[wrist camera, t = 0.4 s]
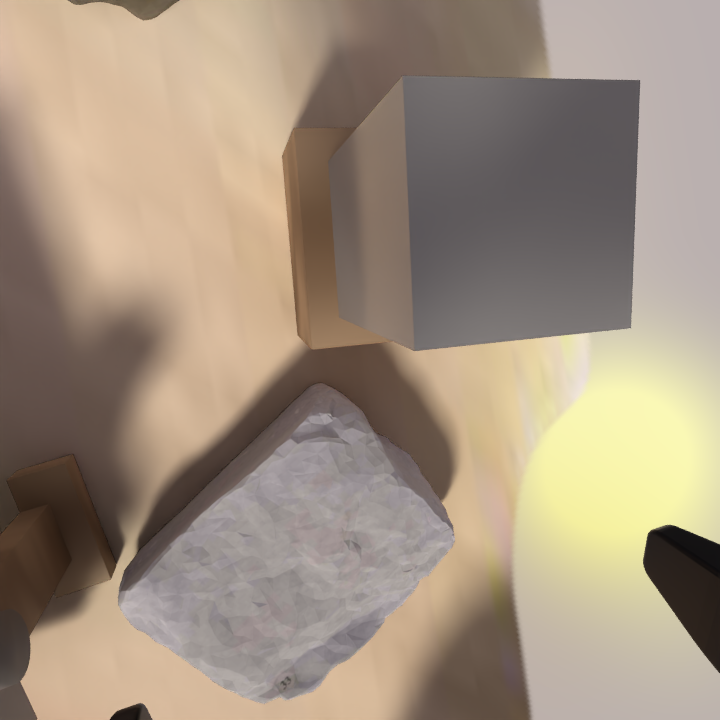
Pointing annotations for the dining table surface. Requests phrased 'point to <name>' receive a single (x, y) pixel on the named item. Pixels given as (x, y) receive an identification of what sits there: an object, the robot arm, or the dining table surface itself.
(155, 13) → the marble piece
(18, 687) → the trapdoor
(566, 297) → the grey block
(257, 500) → the stone block
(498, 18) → the dining table surface
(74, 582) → the trapdoor frame
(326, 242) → the plinth
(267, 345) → the dining table surface
